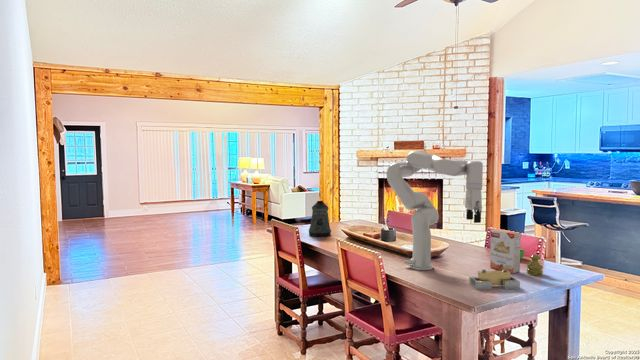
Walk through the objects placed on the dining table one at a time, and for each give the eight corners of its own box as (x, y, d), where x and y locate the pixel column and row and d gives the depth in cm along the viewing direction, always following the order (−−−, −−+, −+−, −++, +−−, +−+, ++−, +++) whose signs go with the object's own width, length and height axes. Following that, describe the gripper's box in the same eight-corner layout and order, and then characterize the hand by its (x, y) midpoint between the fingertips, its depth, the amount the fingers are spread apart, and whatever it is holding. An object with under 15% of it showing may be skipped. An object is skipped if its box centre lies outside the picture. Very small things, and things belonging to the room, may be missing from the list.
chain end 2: (504, 289, 209) (504, 281, 209) (496, 283, 218) (496, 276, 218) (519, 289, 209) (519, 281, 209) (510, 283, 218) (510, 275, 218)
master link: (480, 285, 212) (480, 271, 211) (477, 283, 215) (478, 269, 214) (510, 285, 212) (510, 270, 212) (507, 283, 215) (507, 268, 215)
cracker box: (489, 268, 245) (490, 229, 244) (496, 266, 249) (497, 228, 247) (513, 274, 234) (514, 233, 232) (520, 272, 237) (521, 232, 235)
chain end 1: (476, 290, 208) (476, 282, 208) (469, 284, 217) (469, 276, 217) (491, 289, 209) (492, 282, 208) (483, 283, 218) (483, 276, 217)
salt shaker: (543, 276, 229) (544, 256, 228) (527, 275, 232) (527, 255, 231) (541, 272, 236) (542, 253, 235) (526, 271, 239) (526, 252, 238)
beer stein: (310, 237, 328) (310, 203, 326) (306, 232, 347) (306, 199, 345) (333, 236, 331) (333, 202, 329) (327, 231, 350) (327, 199, 348)
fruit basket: (516, 256, 271) (516, 237, 270) (527, 259, 262) (527, 240, 262) (500, 258, 267) (500, 238, 266) (510, 261, 259) (511, 241, 258)
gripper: (460, 184, 233) (459, 218, 234) (473, 188, 216) (472, 224, 217) (474, 184, 233) (474, 218, 235) (489, 188, 216) (488, 224, 217)
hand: (473, 221), depth 226 cm, fingers open, 9 cm apart
